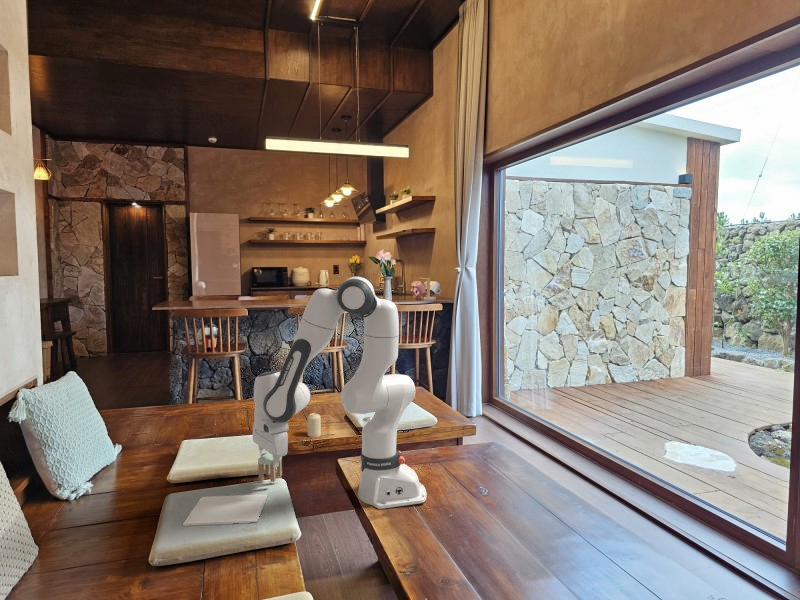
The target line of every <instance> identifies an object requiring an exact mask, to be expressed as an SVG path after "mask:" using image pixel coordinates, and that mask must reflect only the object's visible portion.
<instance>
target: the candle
mask: <svg viewBox="0 0 800 600" xmlns="http://www.w3.org/2000/svg"><path fill="white" fill-rule="evenodd" d="M321 421H322V418H321V415H320V414H319V413H317V412H313V413H309V414H308V416H307V436H308V437H310V438H319V437H320V436H321V435H322V431H321V430H322V427H321V426H322V425H321V423H322V422H321Z"/></svg>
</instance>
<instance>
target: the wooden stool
mask: <svg viewBox="0 0 800 600" xmlns="http://www.w3.org/2000/svg"><path fill="white" fill-rule="evenodd" d="M282 459H283V456H282V457H280V460H279V466H278V467H276V468H274V467H273V466H272V461H273V456H272V454H270V453H269V452H266V454H265V455H263V456H262V457H261V456H259V458H258V459H257V463H258V465H257V466H258V481H264V480H265V476H270V482H273V483H274V482H276V480H277V477H278V478H279V477H282V476H283V465H282V464H283V460H282ZM264 467H265V468H264ZM276 476H277V477H276Z"/></svg>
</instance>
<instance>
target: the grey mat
mask: <svg viewBox="0 0 800 600" xmlns="http://www.w3.org/2000/svg"><path fill="white" fill-rule="evenodd" d="M268 495H269V494H268V493H267V494H265V493H264V494H263V493H262V494H243V495H242V494H241V495H239V494H238V495H214V496H211V495H210V496H201V497H200V498H199V500H198V501H197V503H196V504H195V505H194V506H193V509H192V510H191V511H190V513H189V515H188V516H187V518H186V519H185V520H184V522H182V523H183V524H182V525H183V527H186V526H187V527H190V526H212V525H213V526H215V525H233V523H239V524H251V523H250V522H257V521H258V522H259V520H258V519H260V517H259V516H261V515H262V511H263V509H264V506H265V503H266V501H267V498H268ZM258 522H257V523H258Z"/></svg>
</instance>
